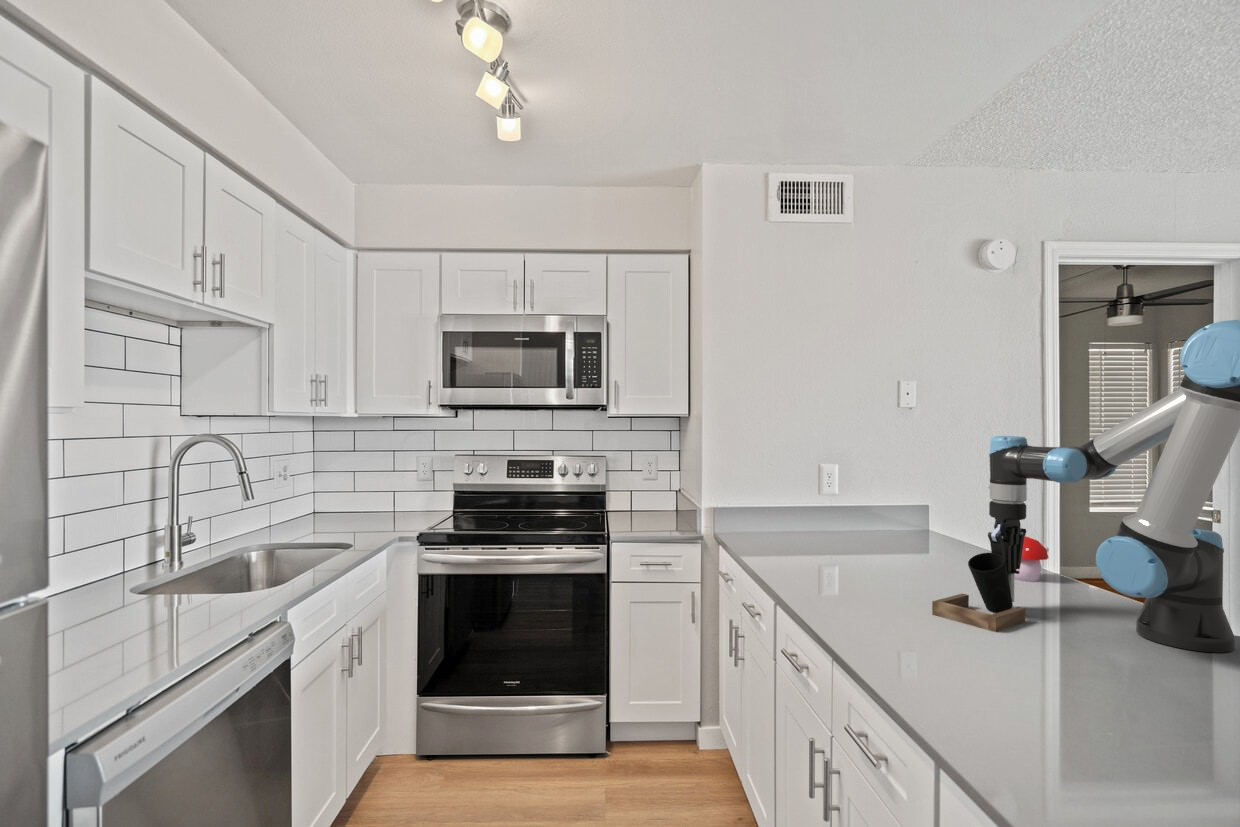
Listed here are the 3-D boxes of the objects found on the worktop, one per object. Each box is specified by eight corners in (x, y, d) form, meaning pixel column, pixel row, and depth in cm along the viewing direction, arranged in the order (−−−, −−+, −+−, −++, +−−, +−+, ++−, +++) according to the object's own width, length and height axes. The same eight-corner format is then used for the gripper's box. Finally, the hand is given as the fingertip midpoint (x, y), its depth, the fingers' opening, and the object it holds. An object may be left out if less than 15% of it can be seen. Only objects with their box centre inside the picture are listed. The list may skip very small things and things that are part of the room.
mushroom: (1035, 574, 186) (1035, 533, 186) (1057, 584, 175) (1057, 540, 175) (996, 573, 187) (996, 532, 187) (1016, 583, 176) (1016, 539, 176)
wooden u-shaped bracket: (1025, 621, 142) (1025, 608, 142) (995, 631, 135) (995, 617, 135) (962, 606, 154) (962, 593, 154) (932, 614, 147) (932, 601, 147)
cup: (1024, 610, 146) (1011, 565, 143) (989, 619, 147) (975, 575, 145) (1008, 592, 153) (996, 549, 150) (975, 600, 155) (962, 558, 152)
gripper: (1005, 497, 159) (1004, 592, 159) (976, 501, 152) (975, 600, 152) (1038, 501, 152) (1037, 600, 153) (1009, 505, 146) (1008, 609, 146)
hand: (1006, 600), depth 153 cm, fingers closed
